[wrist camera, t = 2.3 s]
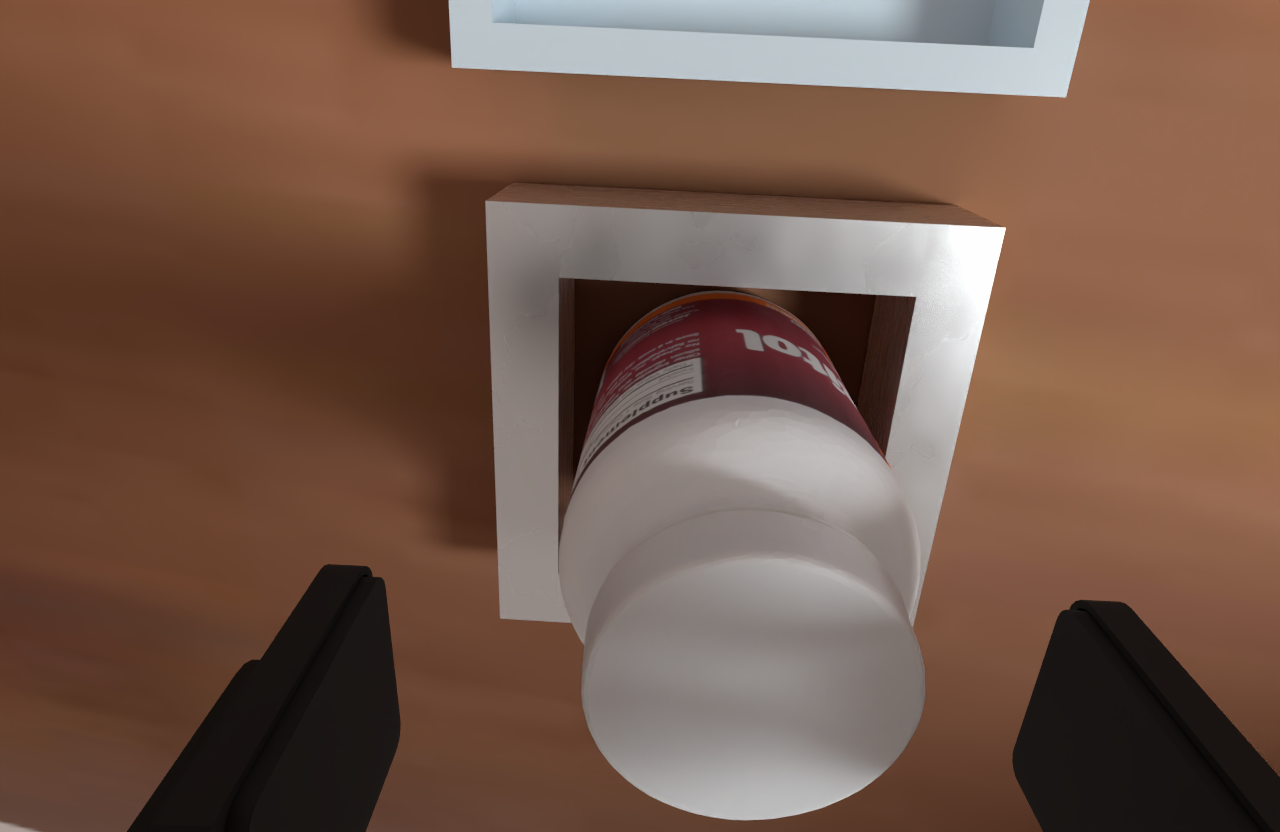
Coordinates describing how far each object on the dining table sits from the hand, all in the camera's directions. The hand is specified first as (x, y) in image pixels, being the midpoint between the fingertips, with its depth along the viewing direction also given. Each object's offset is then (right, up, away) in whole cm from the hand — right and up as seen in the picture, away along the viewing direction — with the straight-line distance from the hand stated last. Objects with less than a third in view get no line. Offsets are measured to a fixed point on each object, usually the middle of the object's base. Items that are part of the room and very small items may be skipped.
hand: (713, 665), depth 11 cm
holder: (+1, +4, +10) cm, 11 cm away
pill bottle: (+1, +4, +10) cm, 11 cm away
